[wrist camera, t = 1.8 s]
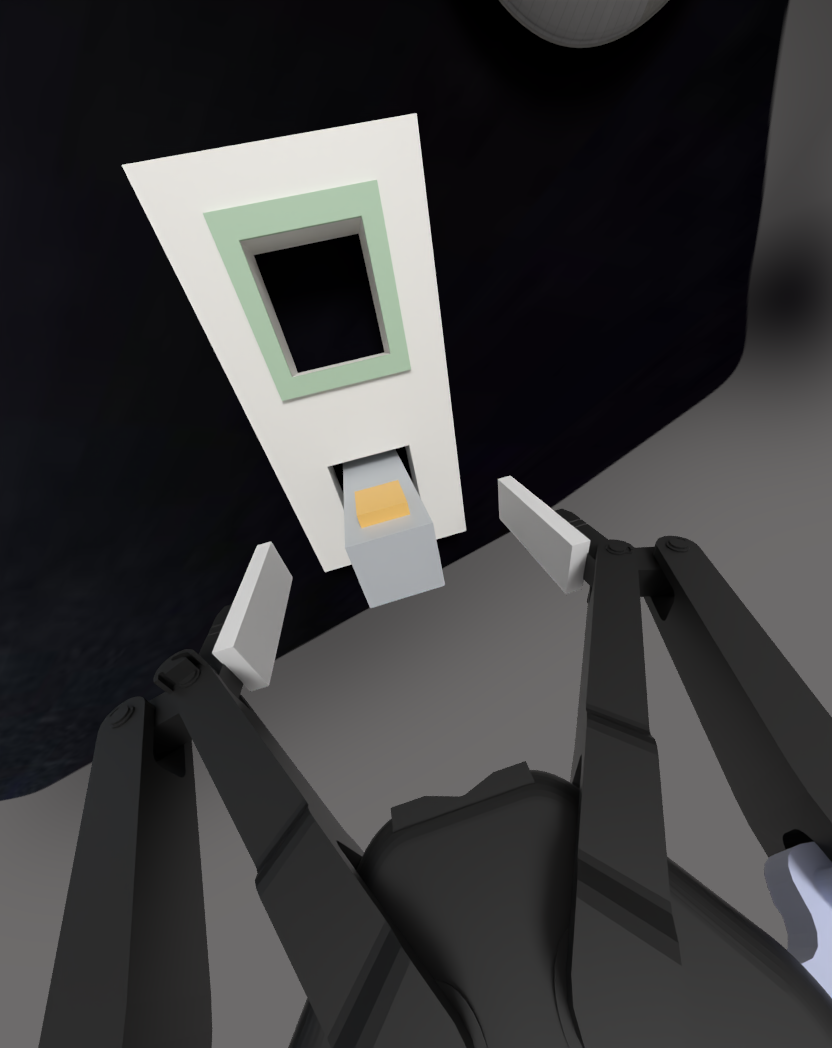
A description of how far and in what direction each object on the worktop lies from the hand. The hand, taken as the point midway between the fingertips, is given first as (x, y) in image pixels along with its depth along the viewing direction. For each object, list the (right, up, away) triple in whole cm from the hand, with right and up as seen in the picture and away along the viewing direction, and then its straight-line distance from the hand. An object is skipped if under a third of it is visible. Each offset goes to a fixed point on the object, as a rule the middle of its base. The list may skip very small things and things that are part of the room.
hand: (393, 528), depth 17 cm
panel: (-3, +8, +3) cm, 9 cm away
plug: (-2, +4, +6) cm, 8 cm away
